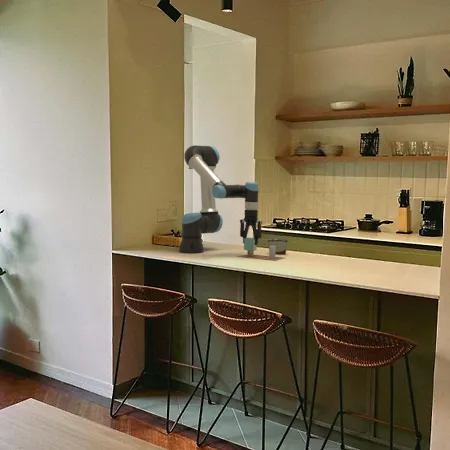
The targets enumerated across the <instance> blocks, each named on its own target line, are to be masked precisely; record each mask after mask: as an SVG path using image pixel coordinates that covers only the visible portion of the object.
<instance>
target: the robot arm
mask: <svg viewBox="0 0 450 450" xmlns="http://www.w3.org/2000/svg"><path fill="white" fill-rule="evenodd" d="M183 157H184V162H185V163H186V164H187V166H188V167H189V168H190V169H193V170H194V171H195V172H196V174H198V176H199V177H200V194H201V195H200V199H201V200H200V201H201V210H199V212H189V213H185V214H183V216H182V217H181V242H180V244H179V247H178V252H179V253H184V254H200V253H204V252H205V247H204V244H203V241H202V235H203V234H214V233H218V232H219V231H220V230H221V229H222V228H223V224H224V223H223V222H224V221H223V217H222V215H221V214H219V210H218V209H217V208H216V199H220V200H223V199H244V217H243V219H239V223H240V225H239V226H240V227H239V231H240V232H239V236H240V238H242V244H244V238H248V233H249V230H250V227H251V228H252V233H253V238H254V239H253V251H257V245H259V244H258V243H259V239H261V238H262V224H263V221H262V220H259V218H258V215H259V210H258V208H259V183H258V181H257V182H256V181H247V182H245V184H244V185H243V184H226V183H225V182H224V181H223V180H222V179H221V178H220V177H219V176H218V175H217V174H216V173H215V169H216V168H217V164H218V163H219V162H220V160H221V159H220V158H221V157H220V152H219V151H218V149H217V148H216V147H215V146H210V145H191V146H189V147H188V148H187V149H186V150H185V152H184V155H183Z"/></svg>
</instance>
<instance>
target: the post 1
mask: <svg viewBox="0 0 450 450" xmlns="http://www.w3.org/2000/svg"><path fill="white" fill-rule="evenodd" d="M246 251H247V256H250V257H252V256H254V255H255V254H254V253H255V252H254V251H249V250H246Z"/></svg>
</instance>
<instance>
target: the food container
mask: <svg viewBox="0 0 450 450" xmlns="http://www.w3.org/2000/svg"><path fill="white" fill-rule="evenodd" d="M267 243H268V247H269V246H276V251H275V256H277V255H280V256H281V255H282V256H283V255H285V256H286V254H287V248H288V247H287V246H288V243H289V239H288V238H286V237H285V238H284V237H283V238H282V237H271V238H267Z"/></svg>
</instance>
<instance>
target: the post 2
mask: <svg viewBox="0 0 450 450" xmlns="http://www.w3.org/2000/svg"><path fill="white" fill-rule="evenodd" d="M275 251H276V246H269V245H268V256H269V259H275V257H276V255H275Z"/></svg>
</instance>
